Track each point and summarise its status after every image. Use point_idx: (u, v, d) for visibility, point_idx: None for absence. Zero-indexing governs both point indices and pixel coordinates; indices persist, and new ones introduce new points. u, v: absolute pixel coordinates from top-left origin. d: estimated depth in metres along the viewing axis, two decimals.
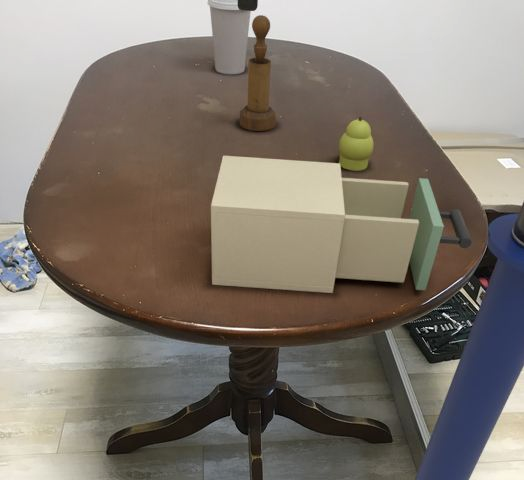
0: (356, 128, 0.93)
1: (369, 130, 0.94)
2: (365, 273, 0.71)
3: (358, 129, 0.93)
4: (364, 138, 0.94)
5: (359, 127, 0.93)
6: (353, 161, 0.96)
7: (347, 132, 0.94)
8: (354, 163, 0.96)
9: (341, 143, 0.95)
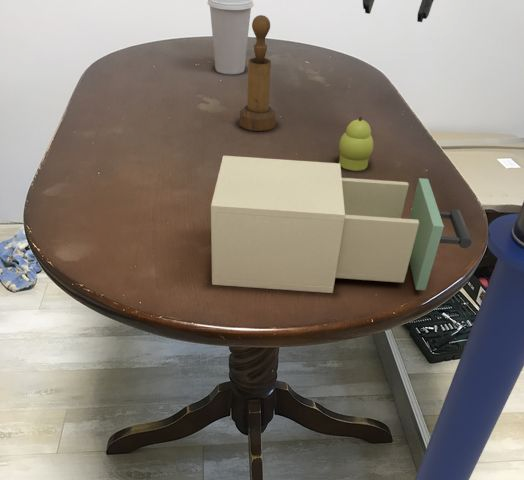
0: (356, 128, 0.93)
1: (369, 130, 0.94)
2: (365, 273, 0.71)
3: (358, 129, 0.93)
4: (364, 138, 0.94)
5: (359, 127, 0.93)
6: (353, 161, 0.96)
7: (347, 132, 0.94)
8: (354, 163, 0.96)
9: (341, 143, 0.95)
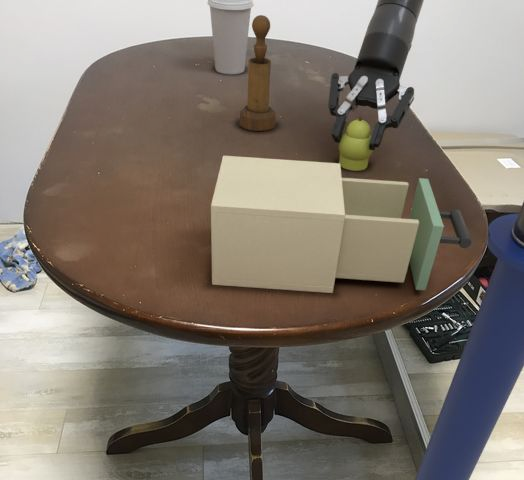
0: (356, 128, 0.93)
1: (369, 130, 0.94)
2: (365, 273, 0.71)
3: (358, 129, 0.93)
4: (363, 138, 0.94)
5: (359, 127, 0.93)
6: (353, 161, 0.96)
7: (347, 132, 0.94)
8: (354, 163, 0.96)
9: (341, 143, 0.95)
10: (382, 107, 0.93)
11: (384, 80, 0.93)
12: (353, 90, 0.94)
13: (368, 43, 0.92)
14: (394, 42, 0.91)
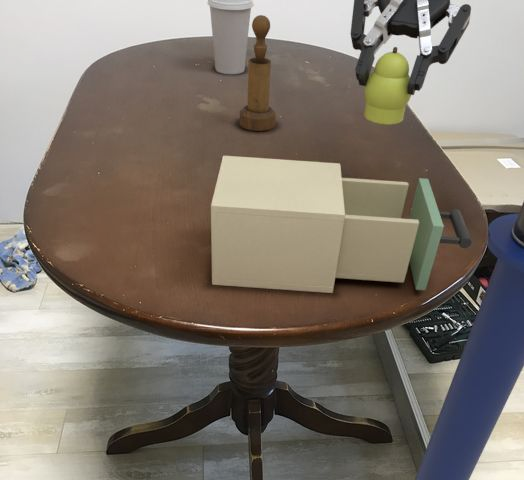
0: (389, 63, 0.67)
1: (407, 66, 0.68)
2: (365, 273, 0.71)
3: (392, 64, 0.67)
4: (399, 78, 0.68)
5: (393, 62, 0.67)
6: (384, 110, 0.70)
7: (376, 70, 0.69)
8: (385, 114, 0.70)
9: (368, 86, 0.70)
10: (426, 33, 0.67)
11: None
12: (385, 11, 0.68)
13: None
14: None
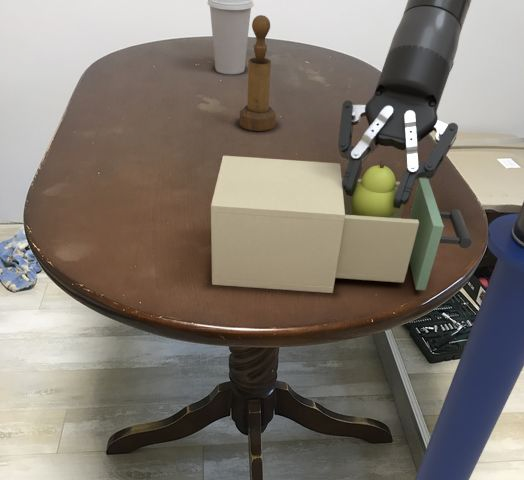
0: (376, 178, 0.67)
1: (394, 181, 0.68)
2: (365, 273, 0.71)
3: (379, 180, 0.67)
4: (386, 192, 0.68)
5: (380, 177, 0.67)
6: None
7: (363, 183, 0.68)
8: None
9: (354, 197, 0.69)
10: (413, 150, 0.67)
11: (416, 112, 0.67)
12: (373, 125, 0.68)
13: (395, 60, 0.66)
14: (431, 60, 0.65)
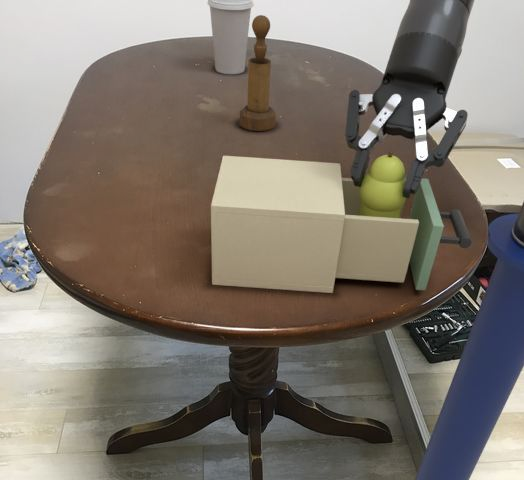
0: (384, 168, 0.66)
1: (403, 170, 0.67)
2: (365, 273, 0.71)
3: (387, 169, 0.66)
4: (395, 182, 0.67)
5: (388, 167, 0.66)
6: (380, 212, 0.69)
7: (371, 173, 0.67)
8: (381, 215, 0.69)
9: (363, 188, 0.68)
10: (422, 138, 0.65)
11: (424, 100, 0.66)
12: (380, 114, 0.67)
13: (402, 48, 0.65)
14: (439, 46, 0.64)
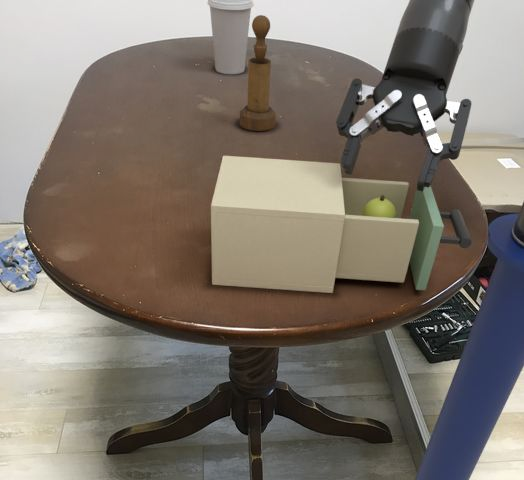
0: (377, 211, 0.70)
1: (394, 213, 0.70)
2: (365, 273, 0.71)
3: (379, 212, 0.70)
4: None
5: (380, 210, 0.70)
6: None
7: (364, 215, 0.71)
8: None
9: None
10: (432, 131, 0.65)
11: (425, 96, 0.66)
12: (381, 110, 0.66)
13: (403, 44, 0.65)
14: (440, 42, 0.64)
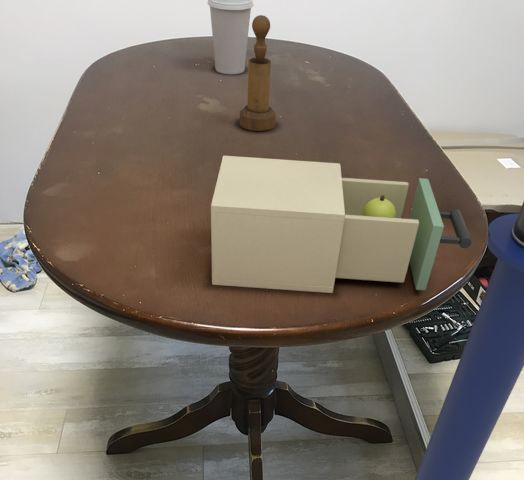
0: (377, 211, 0.70)
1: (394, 213, 0.70)
2: (365, 273, 0.71)
3: (379, 212, 0.70)
4: None
5: (380, 210, 0.70)
6: None
7: (364, 215, 0.71)
8: None
9: None
10: None
11: None
12: None
13: None
14: None
